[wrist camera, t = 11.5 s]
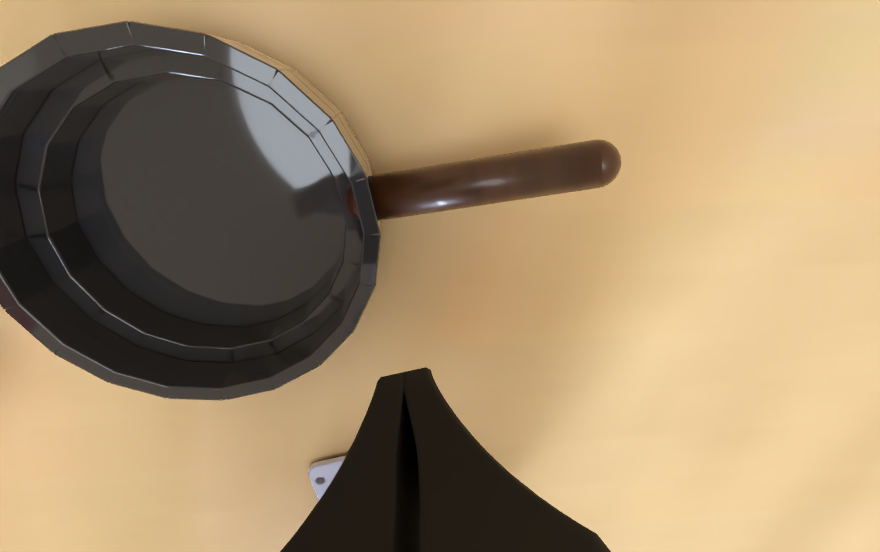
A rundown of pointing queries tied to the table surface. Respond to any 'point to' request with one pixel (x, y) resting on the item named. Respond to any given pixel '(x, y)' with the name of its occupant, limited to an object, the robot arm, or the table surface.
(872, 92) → the table surface
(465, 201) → the pan handle
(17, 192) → the pan
